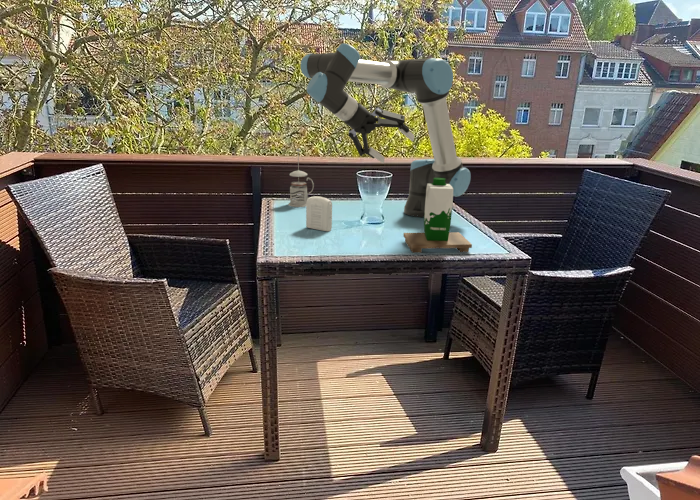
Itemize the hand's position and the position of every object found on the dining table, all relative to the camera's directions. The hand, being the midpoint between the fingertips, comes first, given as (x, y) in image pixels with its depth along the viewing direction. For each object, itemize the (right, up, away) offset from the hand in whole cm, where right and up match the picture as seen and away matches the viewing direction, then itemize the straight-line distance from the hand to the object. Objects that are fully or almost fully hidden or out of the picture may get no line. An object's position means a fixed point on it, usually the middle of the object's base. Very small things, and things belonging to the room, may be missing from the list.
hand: (398, 149), depth 165 cm
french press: (-38, -13, +59) cm, 71 cm away
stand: (+13, -32, +4) cm, 35 cm away
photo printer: (-28, -26, +22) cm, 44 cm away
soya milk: (+13, -30, +4) cm, 33 cm away
